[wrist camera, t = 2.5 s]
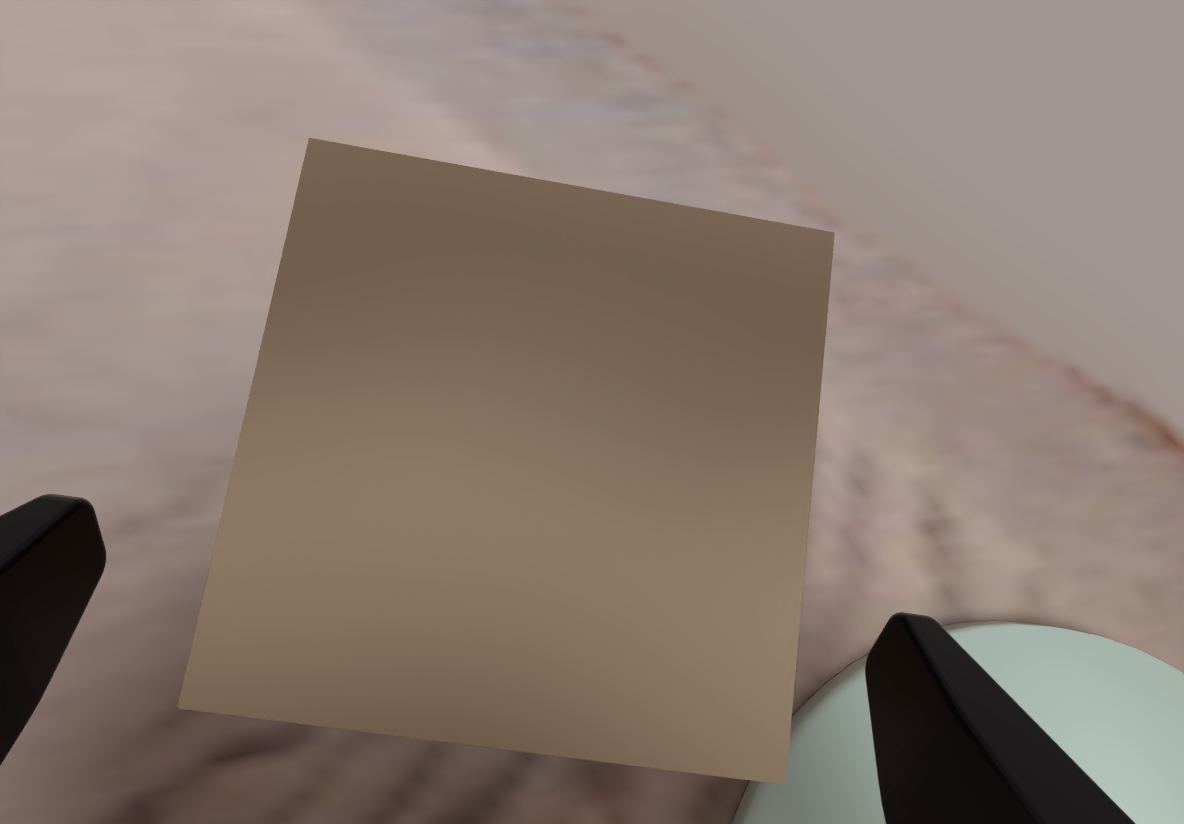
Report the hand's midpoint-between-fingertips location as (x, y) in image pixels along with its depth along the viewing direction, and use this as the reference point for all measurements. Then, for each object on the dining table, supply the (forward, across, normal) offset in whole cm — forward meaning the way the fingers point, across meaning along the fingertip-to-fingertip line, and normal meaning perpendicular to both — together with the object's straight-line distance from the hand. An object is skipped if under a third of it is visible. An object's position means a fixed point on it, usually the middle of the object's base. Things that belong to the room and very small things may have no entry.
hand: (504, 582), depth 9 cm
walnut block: (+7, 0, +5) cm, 9 cm away
